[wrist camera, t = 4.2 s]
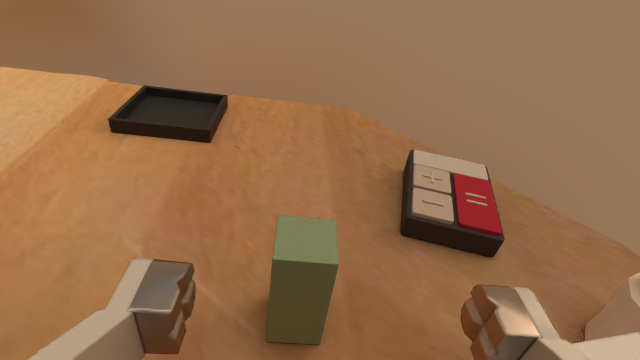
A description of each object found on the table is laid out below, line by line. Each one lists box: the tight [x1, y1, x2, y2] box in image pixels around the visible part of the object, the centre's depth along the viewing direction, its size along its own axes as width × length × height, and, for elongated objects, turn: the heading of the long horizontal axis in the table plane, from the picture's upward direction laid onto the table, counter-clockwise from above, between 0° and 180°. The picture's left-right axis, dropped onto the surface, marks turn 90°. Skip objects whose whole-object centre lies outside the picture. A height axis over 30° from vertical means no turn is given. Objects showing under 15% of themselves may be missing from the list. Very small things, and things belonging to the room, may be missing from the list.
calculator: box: [401, 150, 504, 257], centre depth 47 cm, size 11×4×15 cm
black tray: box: [108, 85, 228, 142], centre depth 58 cm, size 14×13×2 cm
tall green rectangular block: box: [266, 215, 339, 345], centre depth 29 cm, size 4×4×10 cm
